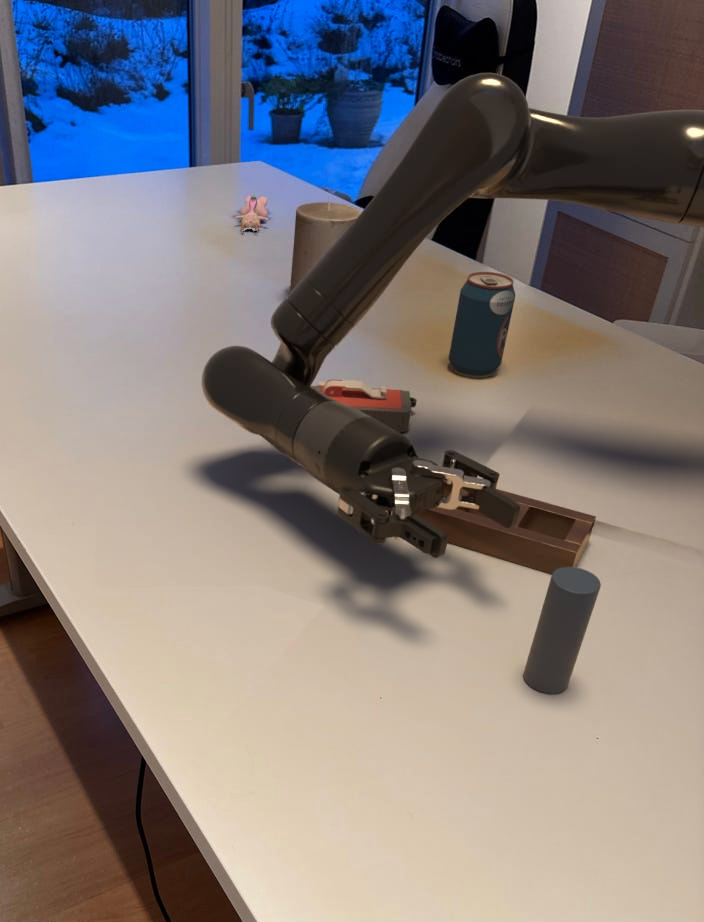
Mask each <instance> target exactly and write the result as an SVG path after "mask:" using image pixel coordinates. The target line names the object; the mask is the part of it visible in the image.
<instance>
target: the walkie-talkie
mask: <svg viewBox="0 0 704 922" xmlns="http://www.w3.org/2000/svg"><path fill="white" fill-rule="evenodd" d="M310 387H312V388H314V389H316V390H318V391H320V392H322V393H324V394H325V395H327V396H329V397H331V398H333V399H334V400H336V401H338V402H340V403H342V404H345V405H348V406H351V407H354V408H356V409H358V410H360V411H362V412H363V413H365V414H367V415H369V416H370V417H372V418H374V419H376V420H378V421H379V422H381V423H383V424H385V425H386V426H388V427H390V428H392V429H394V430H395V431H397V432H399V433H403V432H405V431H409V427H410V421H411V416H412V415H411V413H412V408H415V407H416V406H417V398H414V397H411V394H410V393H411V392H410V390H404V389H390V388H389V389H388V388H387V386H386V384H383V385H380V388H373V387H370V386H368V385H367V384H366V383H365V382H364V381H362V380H349V379H345V380H342V379H329V380H327V381H323V380H319V381H318V385H311V386H310Z"/></svg>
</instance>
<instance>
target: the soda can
mask: <svg viewBox="0 0 704 922" xmlns="http://www.w3.org/2000/svg"><path fill="white" fill-rule="evenodd" d="M466 279H467V280H466V281H465V282H464V284H463V286H462V287H461V288H460V291H459V296H458V303H457V309H456V314H455V320H454V324H453V330H452V335H451V342H450V348H449V353H448V361H449V363H450V366H451V368H452V370H453V371H454V372H455V373H456V374H458V375H461V376H464V377H467V378H477V379H479V378H480V379H481V378H487V377H490V376H492V375H494V373H495V372H496V371H497V370H498V369H499V368H500V366H501V365H502V362H503V356H504V353H505V346H506V343H507V337H508V334H509V333H508V332H509V328H510V323H511V319H512V315H513V309H514V305H515V299H516V291H515V287H514V279H513V278H511V277H510V276H509V275H506V274H503V273H499V272H494V271H493V272H492V271H477V272H472V273H470V274H468V276H467V278H466Z"/></svg>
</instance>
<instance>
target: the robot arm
mask: <svg viewBox="0 0 704 922" xmlns="http://www.w3.org/2000/svg"><path fill="white" fill-rule="evenodd" d="M528 103H529V102H528V100H527V98H526V96H525V94H524V91H522V89H521V87H519V85H518V84H517V83H516V82H515V81H513V80H512V79H510V78H509V77H506V76H505V75H503V74H500V73H494V72H480V73H477V74H472V75H469V76H466V77H465V78H464V77H463V79H460V80H458V82H456V83H454V84H453V85H451V86H450V87H449V88H448V89H447V90H446V91H445V92H444V94H443V95H442V96H441V97H440V99H439V100H438V102H437V103H436V105H435V107H434V109H433V110H432V112H431V113H430V115H429V116H428V118H427V120H426V121H425V123H424V125H423V126H422V128H421V129H420V130H419V132H418V134H417V135H416V137H415V138H414V140H413V142H412V143H411V145H410V146H409V147H408V149H407V151H406V152H405V154H404V156H403V157H402V158H401V160H400V162H399V163H398V164H397V166H396V167H395V169H393V171H392V173H391V174H390V175H389V176H388V178H387V179H386V181H385V182H384V183H383V185H382V186H381V187H380V189H379V190H378V191H377V193H376V194H375V195H374V196H373V197H372V199H371V200H370V201H369V202H368V204H367V205H366V206H365V208H364V209H363V210H361V211H362V213H361V214H360V215H359V216H358V217H357V218H356V219H355V221H354V222H353V223H352V224H351V225H350V226H349V228H348V229H347V230H346V231H345V232H344V233H343V234H342V235H341V237H340V238H339V239H338V240H337V241H336V242H335V243H334V244H333V245H332V246H331V248H330V249H329V250H328V251H327V252H326V253H325V254H324V255H323V256H322V258H321V259H320V260H319V261H318V262H317V263H316V264H315V265H314V266H313V268H312V269H311V270H310V271H309V272H308V273H307V274H306V275H305V277H304V278H303V279H302V280H301V281H300V282H299V283H298V284H297V286H296V287H295V288H294V289H293V290H292V291H291V292H290V291H289V294H287V296H286V297H285V298H284V299H283V300H282V301H281V303H280V304H279V305H278V306H277V307H276V309H275V310H274V312H273V313H272V315H271V318H270V325H271V330H272V331H273V333H274V335H275V336H276V338H277V340H278V341H279V342H280V344H279V346H278V349H277V351H276V352H275V355H274V357H273V359H272V361H270V360H269V359H268V358H266V357H265V356H263V355H262V354H260V353H258V352H257V351H256V350H254V349H252V348H250V347H247V346H243V345H230V346H227V347H224V348H221V349H219V350H217V351H216V352H214V354H212V355H211V356H210V357H209V358H208V360H207V361H206V363H205V365H204V367H203V370H202V374H201V389H202V393H203V396H204V398H205V400H206V402H207V403H208V404H209V405H210V407H212V408H213V409H214V410H215V411H217V412H218V413H219V414H220V415H223V416H224V417H226V418H227V419H229V420H230V421H231V422H233V423H235V424H236V425H238V426H239V427H241V428H242V429H244V430H245V431H246V432H249V433H250V434H253V435H257V436H260V437H261V438H263V439H264V440H265V441H266V442H267V443H268V444H270V445H271V446H272V447H273V448H275V449H276V450H277V451H278V452H279V453H281V454H282V455H284V456H285V457H286V458H288V459H289V460H291V461H292V462H294V463H296V464H297V465H298V466H299V467H302V468H303V469H304V470H305V471H306V472H307V473H308V474H309V475H310V476H311V477H313V478H314V479H315V480H316V481H318V482H320V483H321V484H323V485H324V486H325V487H327V488H328V489H330V490H332V491H333V492H335V493H336V494H338V495H339V497H338V506H337V515H338V516H339V517H340V518H341V519H343V520H344V521H346V522H347V523H348V524H349V525H351V526H352V527H353V528H354V529H356V530H357V531H359V532H360V533H361V534H363V535H364V536H365V537H366V538H367V539H369V540H370V541H372V542H373V543H375V544H384V543H386V541H387V538H393V539H394V540H396V541H398V542H403V541H405V542H407V543H408V544H410V545H411V546H412V547H414V548H416V549H418V550H419V551H420V552H422V553H424V554H426V555H430V556H431V557H432V558H434V559H438V558H441V557H443V556H444V555H445V554H446V550H447V547H448V546H447V545H448V542H447V541H448V537H447V534H446V533H445V532H444V531H442V530H440V529H439V528H437V527H436V526H434V525H432V524H431V523H429V522H428V521H426V520H425V519H423V518H421V517H420V516H418V515H417V514H419V513H421V512H422V511H424V510H425V509H431V508H435V507H439V508H444V509H450V510H454V509H456V508H457V507H459V506H461V507H467V508H473V509H478V512H480V513H482V514H483V515H485V516H487V517H488V518H490V519H492V520H494V521H495V522H497V523H499V524H500V525H502V526H504V527H505V528H511V527H513V526H515V525H516V524H517V521H518V517H519V513H520V506H519V505H518V504H517V503H516V502H515V501H513V500H510V498H508V497H506V496H504V495H503V494H501V493H499V492H497V491H496V489H497V486H498V482H499V479H500V473H499V472H498V471H496V470H494V469H492V468H490V467H487V466H486V465H484V464H482V463H480V462H478V461H476V460H474V459H472V458H470V457H468V456H466V455H464V454H461V453H460V452H458V451H456V450H451V449H447V450H445V451H444V455H443V459H441V460H439V461H437V462H435V461H433V460H429V459H425V458H422V457H420V456H418V453H417V452H416V450H415V448H414V446H413V444H412V442H411V441H410V439H409V438H408V437H407V436H406V435H404V434H402V432H397V431H395V430H394V429H392V428H390V427H388V426H386V425H385V424H383V423H381V422H379V421H378V420H376V419H374V418H372V417H370V416H369V415H367V414H365V413H363V412H362V411H360V410H358V409H356V408H354V407H351V406H348V405H345V404H342V403H340V402H338V401H336V400H334V399H333V398H331V397H329V396H327V395H325V394H324V393H322V392H320V391H318V390H316V389H314V388H312V387H310V386H312V384H313V383H314V381H315V379H316V378H317V376H318V374H319V372H320V369H321V368H322V366H323V364H324V362H325V361H326V359H327V357H328V356H329V355H330V354H331V353H332V352H333V351H334V349H335V348H336V347H337V346H339V345H340V343H341V342H342V341H343V340H344V339H345V338H346V336H347V335H349V333H350V332H351V331H352V330H353V329H354V328H355V327H356V326H357V325H358V324H359V322H360V321H361V320H362V319H363V318H364V317H365V316H366V315H367V313H368V312H369V311H370V310H371V309H372V308H373V306H374V305H375V303H376V302H377V301H378V300H379V298H380V297H381V296H382V295H383V294H384V292H385V291H386V290H387V288H388V287H389V286H390V284H391V283H392V281H393V280H394V278H395V277H396V276H397V274H398V273H399V272H400V271H401V269H402V268H403V266H404V265H405V263H406V262H407V261H408V260H409V259H410V257H411V256H412V255H413V254H414V252H415V251H416V249H418V247H419V246H420V245H421V244H422V243H423V242H424V240H425V239H426V238H427V237H428V236H429V235H430V234H431V233H432V232H433V230H435V229H436V227H437V226H438V225H440V223H442V221H443V220H444V219H446V217H447V216H449V215H450V214H451V213H452V212H453V211H454V210H455V209H456V208H458V207H459V206H460V205H462V203H463V202H465V201H466V200H467V199H515V200H516V199H517V200H518V199H519V200H543V201H556V202H557V201H558V202H565V203H573V204H578V205H582V206H586V207H590V208H595V209H600V210H604V211H609V212H613V213H617V214H623V215H628V216H634V217H637V218H644V219H650V220H655V221H658V222H666V223H670V224H677V225H684V226H692V227H700V228H704V110H703V109H669V110H655V111H648V112H647V111H646V112H640V113H639V112H637V113H632V114H623V115H622V114H621V115H614V116H605V117H583V116H575V115H567V114H561V113H556V112H552V111H551V112H550V111H545V110H541V109H536V108H532V107H529V104H528ZM443 479H445V480H446V481H447V482H446V483H447V484H453V486H452V491H451V495H450V496H449V497H443V493H444V488H445V484H444V480H443ZM461 488H462V489H464V490H465V491H467V492H469V493H471V494H473V497H469V496H463V495H461V494H460V490H461ZM385 510H386V511H385ZM411 514H412V515H414V516H411ZM372 520H373V522H372Z"/></svg>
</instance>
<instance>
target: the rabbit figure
mask: <svg viewBox="0 0 704 922" xmlns="http://www.w3.org/2000/svg"><path fill="white" fill-rule="evenodd" d="M244 201H245V202H244V203H245V204H244V207H243V208H242V209H241V210H240V215H236V216H235V220H239V219H241V223H240V227H242V228H240V231H241V230H244V228H249V227H251V228H255V231H257V228H261V221H265V222H269V218H268V215H269V213H268V211H267V209H266V206H267V204H268V198H267V197H266V196H260V197H258V198H257V196H256V195H255V194H252V195H247V197H246V198H245V200H244ZM260 220H261V221H260Z"/></svg>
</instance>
